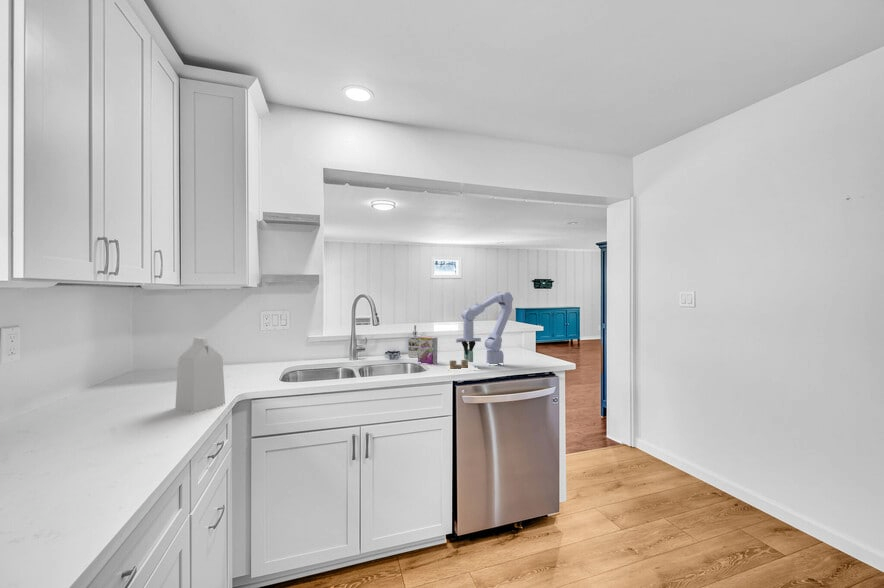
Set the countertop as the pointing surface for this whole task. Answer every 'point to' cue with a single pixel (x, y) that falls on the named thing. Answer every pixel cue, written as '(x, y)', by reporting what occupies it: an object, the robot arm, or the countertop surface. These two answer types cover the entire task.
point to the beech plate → (453, 365)
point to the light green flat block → (469, 356)
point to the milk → (200, 378)
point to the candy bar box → (427, 349)
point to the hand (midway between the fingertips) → (468, 354)
